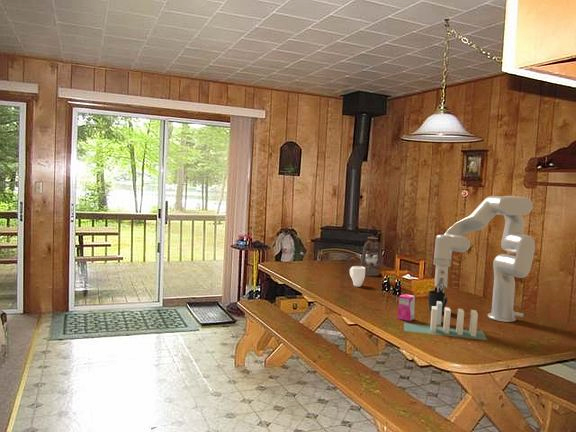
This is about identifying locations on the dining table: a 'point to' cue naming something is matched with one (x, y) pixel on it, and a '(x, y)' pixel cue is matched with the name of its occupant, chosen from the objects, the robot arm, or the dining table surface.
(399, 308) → the supplement box
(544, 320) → the dining table surface
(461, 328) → the domino
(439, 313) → the domino
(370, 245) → the lantern
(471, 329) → the domino
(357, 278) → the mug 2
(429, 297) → the mug
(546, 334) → the dining table surface
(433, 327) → the domino
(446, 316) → the domino
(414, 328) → the runner mat
